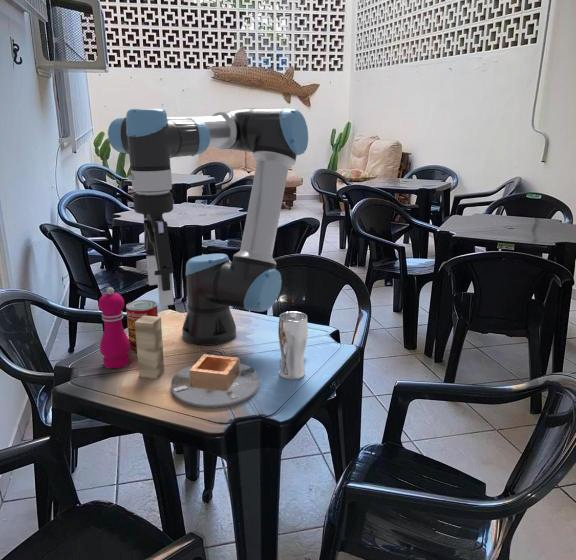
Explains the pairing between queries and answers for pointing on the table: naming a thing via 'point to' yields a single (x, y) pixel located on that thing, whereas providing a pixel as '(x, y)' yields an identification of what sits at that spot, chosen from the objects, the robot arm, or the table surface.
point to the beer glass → (292, 343)
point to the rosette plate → (215, 382)
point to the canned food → (138, 317)
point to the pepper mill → (113, 331)
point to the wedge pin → (149, 346)
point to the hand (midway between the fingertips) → (160, 294)
